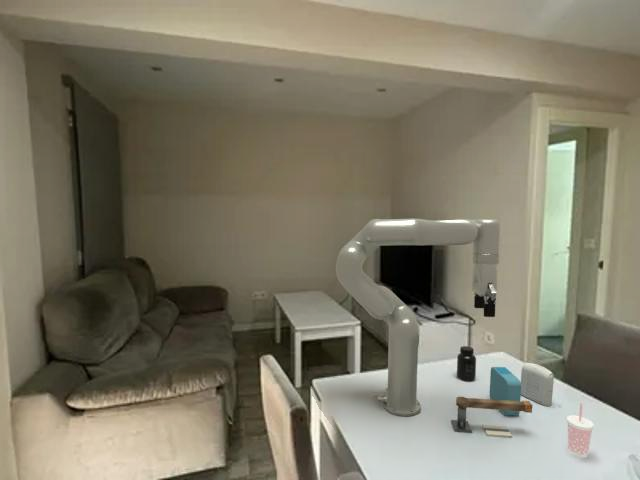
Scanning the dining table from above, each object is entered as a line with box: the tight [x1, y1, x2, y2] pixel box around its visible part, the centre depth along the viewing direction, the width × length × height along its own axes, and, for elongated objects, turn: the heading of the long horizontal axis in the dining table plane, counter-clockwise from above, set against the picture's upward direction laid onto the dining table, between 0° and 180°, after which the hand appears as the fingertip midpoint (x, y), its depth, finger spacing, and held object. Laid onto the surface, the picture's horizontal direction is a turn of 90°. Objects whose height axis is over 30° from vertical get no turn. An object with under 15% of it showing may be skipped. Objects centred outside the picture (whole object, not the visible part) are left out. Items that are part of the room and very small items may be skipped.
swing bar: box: [455, 396, 534, 414], centre depth 115 cm, size 21×4×2 cm, turn 83°
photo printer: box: [520, 362, 555, 407], centre depth 134 cm, size 10×4×12 cm, turn 31°
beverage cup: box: [566, 403, 595, 459], centre depth 105 cm, size 6×6×14 cm
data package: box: [489, 366, 522, 416], centre depth 128 cm, size 12×4×12 cm, turn 0°
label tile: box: [481, 423, 513, 439], centre depth 115 cm, size 7×5×1 cm
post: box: [450, 406, 473, 434], centre depth 117 cm, size 5×5×7 cm
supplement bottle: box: [456, 345, 477, 382], centre depth 150 cm, size 7×7×12 cm
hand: (484, 312), depth 122 cm, fingers open, 9 cm apart
